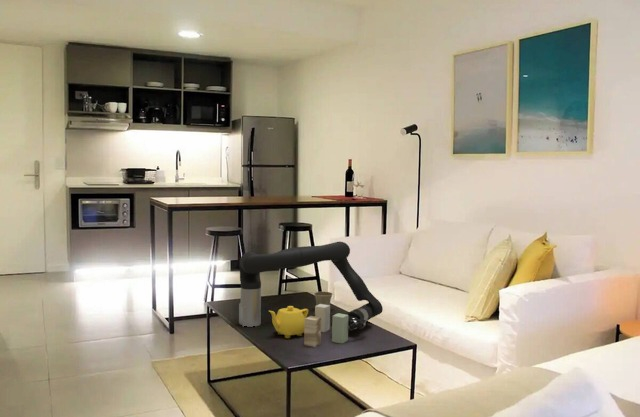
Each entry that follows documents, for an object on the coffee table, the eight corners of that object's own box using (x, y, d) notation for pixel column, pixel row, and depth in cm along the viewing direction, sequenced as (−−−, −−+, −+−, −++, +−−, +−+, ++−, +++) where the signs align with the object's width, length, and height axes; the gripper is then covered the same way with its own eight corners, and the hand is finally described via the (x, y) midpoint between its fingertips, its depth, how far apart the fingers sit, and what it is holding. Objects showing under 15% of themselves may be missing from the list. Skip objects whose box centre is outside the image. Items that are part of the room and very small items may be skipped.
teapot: (260, 334, 243) (261, 306, 242) (299, 327, 254) (300, 300, 253) (276, 342, 232) (276, 313, 231) (316, 335, 243) (316, 307, 242)
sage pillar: (342, 343, 232) (343, 317, 232) (331, 341, 235) (332, 315, 234) (347, 340, 237) (348, 314, 236) (337, 338, 239) (337, 313, 238)
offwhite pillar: (324, 332, 248) (325, 307, 247) (314, 330, 250) (315, 306, 249) (329, 329, 252) (330, 305, 251) (319, 327, 254) (320, 303, 254)
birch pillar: (314, 346, 227) (315, 320, 227) (304, 344, 230) (304, 318, 229) (320, 343, 232) (321, 317, 231) (310, 341, 234) (310, 315, 233)
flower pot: (319, 313, 278) (319, 296, 277) (310, 309, 286) (310, 292, 286) (335, 311, 282) (335, 294, 282) (326, 307, 291) (327, 290, 290)
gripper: (343, 307, 254) (326, 315, 239) (372, 311, 247) (356, 320, 233) (342, 323, 254) (326, 332, 240) (371, 328, 248) (356, 337, 233)
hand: (341, 326), depth 236 cm, fingers open, 8 cm apart
